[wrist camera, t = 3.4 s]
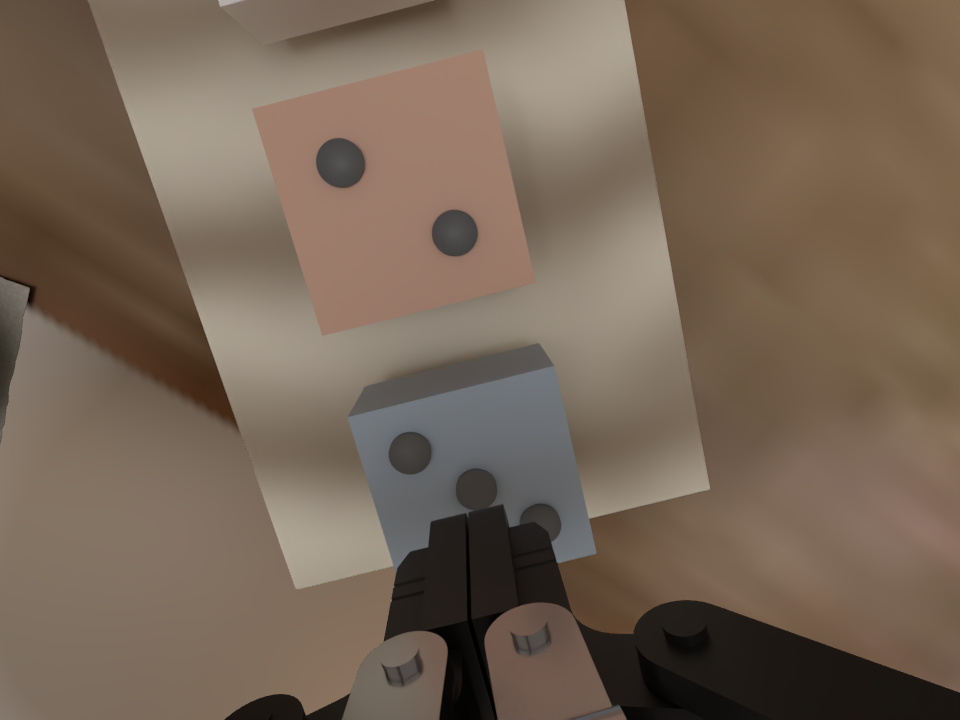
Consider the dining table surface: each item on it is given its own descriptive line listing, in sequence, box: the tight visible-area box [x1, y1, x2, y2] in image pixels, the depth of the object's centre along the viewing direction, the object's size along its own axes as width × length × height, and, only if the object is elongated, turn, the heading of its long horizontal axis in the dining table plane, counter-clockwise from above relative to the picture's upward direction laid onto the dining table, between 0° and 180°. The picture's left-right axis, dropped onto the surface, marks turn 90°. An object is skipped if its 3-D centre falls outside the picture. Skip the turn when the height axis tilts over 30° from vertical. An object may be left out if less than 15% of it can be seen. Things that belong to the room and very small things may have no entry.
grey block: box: [348, 343, 597, 572], centre depth 16 cm, size 5×5×3 cm
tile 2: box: [252, 49, 536, 336], centre depth 15 cm, size 5×5×3 cm
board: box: [88, 0, 710, 590], centre depth 18 cm, size 22×14×4 cm, turn 14°
